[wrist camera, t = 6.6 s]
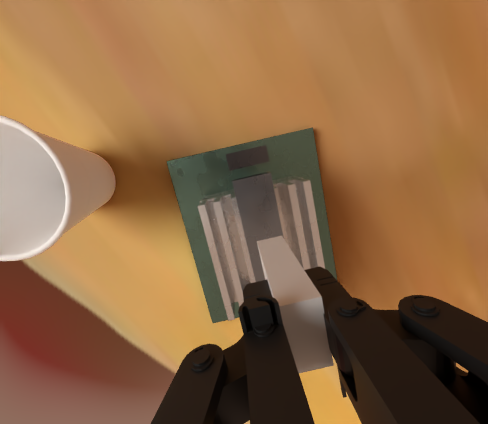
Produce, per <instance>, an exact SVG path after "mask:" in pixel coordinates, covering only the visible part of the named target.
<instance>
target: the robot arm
mask: <svg viewBox="0 0 488 424" xmlns="http://www.w3.org/2000/svg"><path fill="white" fill-rule="evenodd" d="M257 245H258V249H259V254H260V258H261V263H262V267H263V271H264V276H265V280H262V281H258V282H254V283H249V284H246V286H245V288H244V290H243V300H244V302H243V303H242V304H241V306H240V307H239V310H238V314H239V317H240V321H241V325H242V329H243V333H244V335H243V336H242V338H241V339H240V340H239V341H238V342H237V343H235V344H234V345H232V346H231V347H229V348H227V349H225V350H223V351H222V349H221V348H220V347H219V346H217V345H214V344H206V345H201V346H199V347H197V348H195V349H193V350H192V351H191V352H190V353H189V354H187V355H186V357H185V358H184V360H183V361H182V363H181V365H180V367H179V369H178V371H177V373H176V375H175V377H174V379H173V381H172V383H171V385H170V387H169V389H168V391H167V393H166V395H165V397H164V399H163V401H162V403H161V405H160V407H159V409H158V410H157V413H156V415H155V417H154V418H153V420H152V422H151V424H244V423H246V422H247V421H249V420H250V424H314V420H313V417H312V414H311V411H310V408H309V405H308V401H307V398H306V395H305V392H304V389H303V386H302V382H301V379H300V376H299V373H303V372H307V371H311V370H315V369H320V368H324V367H328V366H333V359H332V355H333V357H334V359H335V361H336V363H337V367H338V373H339V379H340V385H341V390H342V395H343V398H344V397H347V396H346V392H347V394H348V396H349V398H350V400H351V402H352V404H353V406H354V408H355V410H356V412H357V414H358V416H359V419H360V421H361V423H362V424H488V322H486V321H484V320H482V319H480V318H478V317H476V316H473V315H471V314H469V313H467V312H465V311H463V310H461V309H459V308H456V307H454V306H452V305H450V304H448V303H446V302H444V301H442V300H439V299H436V298H433V297H429V296H423V295H412V296H408V297H404V298H403V299H402V300H400V302H399V305H398V307H399V310H375V309H372V308H371V307H370V306H369V305H368V304H367V303H366V302H364V301H363V300H360V299H357V298H352V297H351V296H350V295H349V294H348V292H347V291H346V290H345V289H344V288H343V287H342V285H341V284H340V283H339V282H338V281H337V280H336V279H335V277H333V275H332V274H331V273H330V272H329V271H328V270H327V269H324V268H322V267H320V266H319V267H315V268H310V269H306V270H304V269H303V267H302V266H301V264H300V263H299V261H298V260H297V258H296V257H295V255H294V254H293V252H292V251H291V249H290V248H289V246H288V245H287V243H286V241H285V240H284V238H283V237H282V236H277V237H273V238H269V239H264V240H260V241H257ZM456 363H458V364H459V365H461V366H462V367H464V368H465V369H467V370H468V373H467V372H464V371H462V370H461V369H459V368H458V367H456Z"/></svg>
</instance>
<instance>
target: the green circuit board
mask: <svg viewBox="0 0 488 424" xmlns="http://www.w3.org/2000/svg"><path fill="white" fill-rule="evenodd" d="M166 162H167V165H168V169H169V172H170V176H171V179H172V183H173V186H174V190H175V193H176V197H177V200H178V204H179V207H180V211H181V214H182V218H183V221H184V225H185V228H186V232H187V235H188V239H189V242H190V246H191V249H192V253H193V256H194V260H195V263H196V267H197V270H198V274H199V277H200V281H201V284H202V288H203V291H204V295H205V298H206V302H207V305H208V309H209V312H210V316H211V319H212V323H216V322H221V321H225V320H228V321H229V320H233V319H235V318H238V317H239V314H238V310H239V307H240V306H241V304H242V303H243V302H244V300H243V290H244V288H245V286H246V284H249V283H254V282H256V281H255V276H254V272H253V268H252V264H251V259H250V255H249V251H248V247H247V243H246V238H245V234H244V230H243V226H242V221H241V217H240V213H239V209H238V204H237V200H236V196H235V192H234V188H233V183H232V180H235V179H239V178H243V177H247V176H252V175H256V174H260V173H265V172H271V176H272V181H273V186H274V191H275V196H276V201H277V206H278V212H279V217H280V222H281V227H282V232H283V237H284V240H285V241H286V243H287V245H288V246H289V248H290V249H291V251H292V252H293V254H294V255H295V257H296V258H297V260H298V261H299V263H300V264H301V266H302V267H303V269H304V270H306V269H310V268H315V267H319V266H320V267H322V268H324V269H327V270H328V271H329V272H330V273H331V274H332V275H333V277H335V279H336V280H337V275H336V269H335V263H334V257H333V251H332V244H331V238H330V232H329V226H328V219H327V213H326V207H325V201H324V195H323V188H322V182H321V176H320V170H319V163H318V157H317V151H316V145H315V139H314V132H313V128H309V129H304V130H300V131H296V132H291V133H287V134H283V135H279V136H274V137H270V138H266V139H261V140H257V141H253V142H248V143H244V144H240V145H235V146H231V147H227V148H222V149H218V150H214V151H209V152H205V153H201V154H196V155H192V156H188V157H183V158H179V159H175V160H171V161H166Z"/></svg>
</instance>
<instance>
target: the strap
mask: <svg viewBox="0 0 488 424" xmlns="http://www.w3.org/2000/svg"><path fill="white" fill-rule="evenodd" d="M232 183H233V188H234V192H235V196H236V200H237V204H238V209H239V213H240V217H241V221H242V226H243V230H244V234H245V238H246V243H247V247H248V251H249V255H250V259H251V264H252V268H253V272H254V276H255V281H256V282H258V281H262V280H265V276H264V271H263V267H262V263H261V258H260V254H259V249H258V245H257V241H260V240H264V239H269V238H273V237H277V236H282V237H283V232H282V227H281V222H280V217H279V212H278V206H277V201H276V196H275V191H274V186H273V181H272V176H271V172H265V173H260V174H256V175H252V176H247V177H243V178H239V179H235V180H232ZM283 238H284V237H283Z"/></svg>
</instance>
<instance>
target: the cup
mask: <svg viewBox="0 0 488 424" xmlns="http://www.w3.org/2000/svg"><path fill="white" fill-rule="evenodd" d="M115 185H116V181H115V175H114V172H113V170H112V168H111V166H110V165H109V164H108V162H107V161H106V160H104V159H103V158H102V157H101V156H99V155H97V154H95V153H92V152H90V151H87V150H84V149H82V148H79V147H76V146H73V145H71V144H68V143H65V142H63V141H60V140H57V139H55V138H52V137H49V136H47V135H44V134H41V133H39V132H36V131H33V130H32V129H30V128H29V127H27V126H25V125H24V124H22V123H20V122H18V121H15V120H13V119H10V118H8V117H5V116H0V261H17V260H22V259H27V258H31V257H33V256H36V255H38V254H41V253H43V252H44V251H46V250H47V249H49V248H50V247H51V246H53V245H54V244H55V243H56V242H57V241H58V239H59V238H60V237H61V236H62V235H63V234H64V233H65V232H67V231H68V230H69V229H71V228H72V227H74V226H75V225H76V224H77V223H79V222H80V221H82V220H83V219H84V218H86V217H87V216H89V215H90V214H91V213H93V212H94V211H95V210H97V209H98V208H100V207H101V206H102V205H104V204H105V203H107V202H108V201H109V200H110V198H111V197H112V195H113V193H114V190H115Z"/></svg>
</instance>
